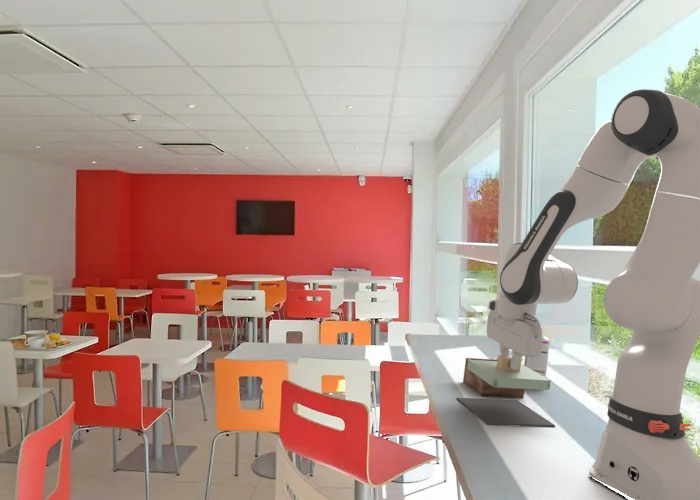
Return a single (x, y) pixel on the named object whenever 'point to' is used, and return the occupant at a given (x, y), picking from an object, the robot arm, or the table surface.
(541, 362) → the syrup box
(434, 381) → the table surface
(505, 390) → the walnut box
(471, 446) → the table surface
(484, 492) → the table surface
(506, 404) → the black mat
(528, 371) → the green lid
